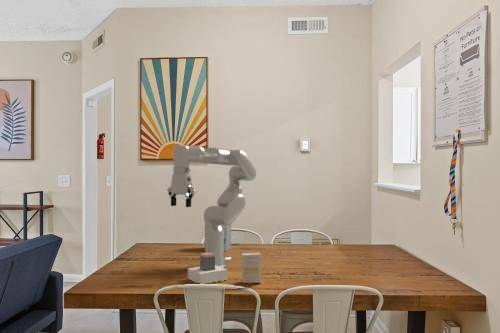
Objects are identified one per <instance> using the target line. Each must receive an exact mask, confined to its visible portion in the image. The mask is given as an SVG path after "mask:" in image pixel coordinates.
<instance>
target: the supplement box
mask: <svg viewBox="0 0 500 333" xmlns="http://www.w3.org/2000/svg"><path fill="white" fill-rule="evenodd" d="M241 258H242V259H241V261H242V262H241V266H242V268H241V270H242V271H241V272H242V274H241V275H242V276H241V278H242V280H241V281H242V284H243V283H248V284H252V283H260V284H261V271H262V270H261V265H262V264H261V253H260V252H242V255H241ZM252 285H253V284H252Z"/></svg>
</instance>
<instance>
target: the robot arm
mask: <svg viewBox="0 0 500 333" xmlns="http://www.w3.org/2000/svg"><path fill="white" fill-rule="evenodd" d="M190 163H202V164H208V165H220V166H222V165H223V166H231V167H230V169H229V171H228V178H229V179H228V180H229V184H228V186H227V187H226V188H225V190H224V191H223V192H222V193H221V194H220V196H219V197H218V199H217V201H216V204H217V205H210V206H208V207H207V208H206V209H205V210H204V213H203V220H204V228H205V227H206V249H205V253H208V252H210V253H213V254H215V265H217V266H219V267H222V268H226V267H227V262H231V261H232V257H227V256H226V257H225V256H224V255H225V254H224V253H225V251H224V231H223V227H222V225H223V226H229V225H231V226H232V225H233V224H234V222H235V221H236V220H237V218H238V217H239V216H240V215H241V213H242V212H243V210H244V209H245V207H246V197H245V196H244V195H243V190H244V188H243V185H242V181H247V182H250V181H253V180H255V178H256V176H257V169H256V167H255V165H254V164H253V162H252V160H251V159H250V157H249V156H248V155H247V153H246V151H243V150H242V149H224V148H217V147H203V146H200V145H184V144H183V145H182V144H181V145H179V144H177V145H174V147H173V168H172V169H173V173H172V177H171V183H170V185H171V186H169V187H168V188H166V190H167V193H168V195H169V198H170V206H171V207H175V206H177V197H176V196H177V195H184V196H185V197H186V199H185V208H192V199H193V197H194V196H195V194H196V189H195V188H194V187H193V183H192V182H193V181H192V176H191V173H190V172H191V169H190Z"/></svg>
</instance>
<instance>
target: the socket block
mask: <svg viewBox="0 0 500 333" xmlns="http://www.w3.org/2000/svg"><path fill="white" fill-rule="evenodd" d="M188 279H190V280H192V281H194V282H193V283H195V282H196V283H195V284H197V283H200V284H205V283H211V284H213V283H212V282H216V283H219V282H218V281H221V282H225V281H224V280H226V281H228V269H227V268H226V267H224V268H222V267H219V266H217V265H215V270H210V271H203V270H201V269H200V266H194V267H189V268H187V280H188ZM190 280H189V281H190ZM192 281H191V282H192ZM205 285H206V284H205Z"/></svg>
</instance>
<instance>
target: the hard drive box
mask: <svg viewBox="0 0 500 333" xmlns="http://www.w3.org/2000/svg"><path fill="white" fill-rule="evenodd" d="M222 227H223V231H224V252H228V251H230V250H231V249H232V246H231V243H232V242H231V241H232V224H231V225H229V226H223V225H222ZM204 250H206V227H205V226H204Z"/></svg>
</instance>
